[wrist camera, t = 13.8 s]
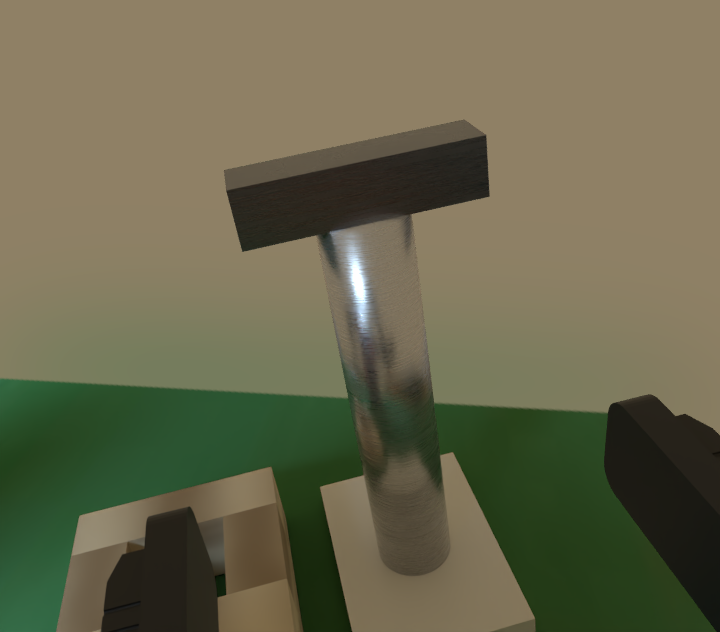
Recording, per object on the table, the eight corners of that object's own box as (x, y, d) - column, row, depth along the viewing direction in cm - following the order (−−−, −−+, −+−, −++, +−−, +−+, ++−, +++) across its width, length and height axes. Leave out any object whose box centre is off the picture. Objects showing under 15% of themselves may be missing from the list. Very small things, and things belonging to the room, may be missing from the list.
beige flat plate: (364, 684, 26) (360, 669, 26) (323, 500, 35) (319, 486, 34) (535, 634, 27) (535, 618, 27) (454, 466, 36) (452, 452, 35)
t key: (332, 600, 29) (226, 197, 20) (321, 542, 31) (223, 164, 22) (513, 549, 30) (493, 140, 20) (486, 497, 32) (458, 115, 23)
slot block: (77, 755, 26) (42, 702, 24) (104, 566, 33) (79, 515, 32) (311, 687, 27) (294, 631, 25) (285, 518, 34) (271, 466, 33)
